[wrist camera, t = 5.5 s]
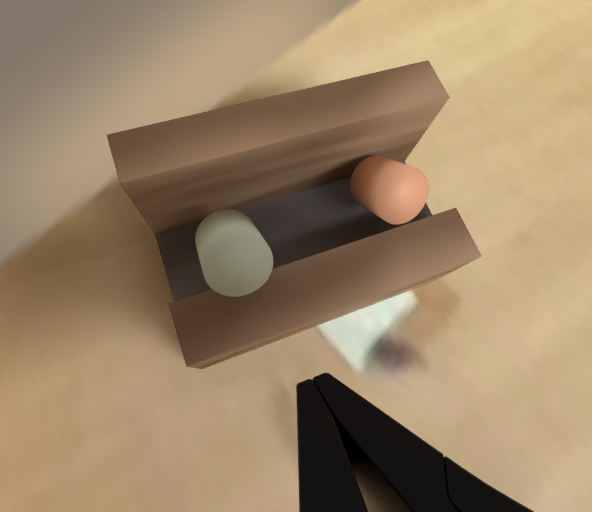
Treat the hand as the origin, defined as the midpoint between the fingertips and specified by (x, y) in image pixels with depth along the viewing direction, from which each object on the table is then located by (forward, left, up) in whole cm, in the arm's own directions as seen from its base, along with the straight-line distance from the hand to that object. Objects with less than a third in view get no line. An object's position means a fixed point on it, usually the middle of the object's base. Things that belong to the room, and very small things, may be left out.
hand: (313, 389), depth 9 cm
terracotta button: (+11, -1, -10) cm, 15 cm away
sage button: (+4, +5, -9) cm, 11 cm away
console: (+8, +2, -13) cm, 16 cm away
